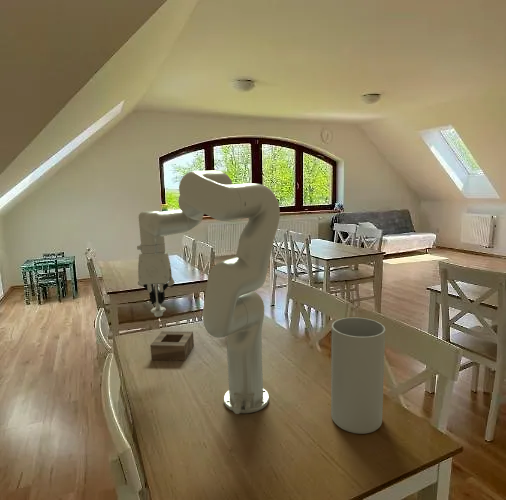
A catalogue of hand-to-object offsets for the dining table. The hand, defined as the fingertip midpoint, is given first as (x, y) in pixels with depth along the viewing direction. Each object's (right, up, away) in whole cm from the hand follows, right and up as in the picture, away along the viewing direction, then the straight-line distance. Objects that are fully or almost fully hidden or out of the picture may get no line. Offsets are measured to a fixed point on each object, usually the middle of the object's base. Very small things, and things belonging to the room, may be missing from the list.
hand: (157, 302), depth 129 cm
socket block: (+3, -19, +10) cm, 22 cm away
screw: (0, -5, +1) cm, 5 cm away
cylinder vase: (+58, -26, -31) cm, 71 cm away
